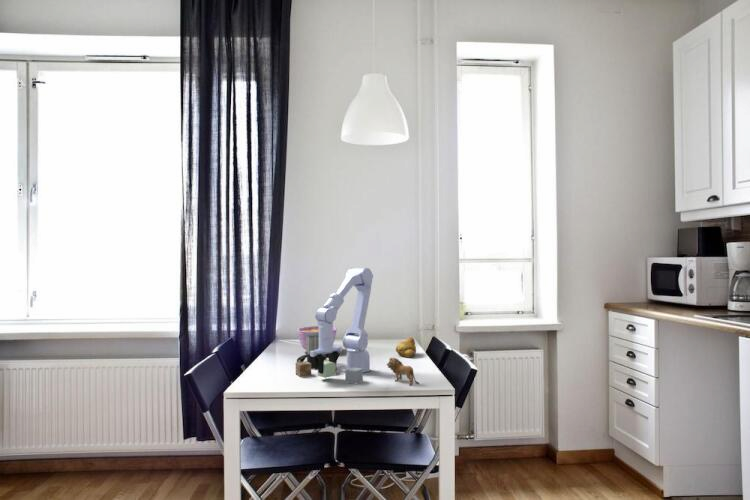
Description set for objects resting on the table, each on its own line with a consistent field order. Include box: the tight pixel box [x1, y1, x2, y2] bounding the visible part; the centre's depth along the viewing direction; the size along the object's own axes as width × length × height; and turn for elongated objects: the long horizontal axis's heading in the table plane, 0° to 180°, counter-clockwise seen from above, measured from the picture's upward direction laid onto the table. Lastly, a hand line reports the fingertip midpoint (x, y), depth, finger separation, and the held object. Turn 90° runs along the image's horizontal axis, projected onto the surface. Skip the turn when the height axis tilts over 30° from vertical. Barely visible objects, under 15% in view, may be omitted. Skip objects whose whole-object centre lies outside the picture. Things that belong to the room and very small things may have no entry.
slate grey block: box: [344, 367, 364, 384], centre depth 204 cm, size 5×5×5 cm
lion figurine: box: [386, 357, 420, 386], centre depth 203 cm, size 15×5×9 cm, turn 50°
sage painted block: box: [317, 361, 336, 379], centre depth 208 cm, size 5×5×5 cm
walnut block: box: [295, 360, 312, 378], centre depth 216 cm, size 5×5×5 cm
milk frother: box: [296, 332, 329, 370], centre depth 234 cm, size 14×16×15 cm
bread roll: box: [395, 337, 417, 358], centre depth 253 cm, size 13×10×8 cm
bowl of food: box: [297, 325, 338, 351], centre depth 264 cm, size 20×20×12 cm
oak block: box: [324, 358, 338, 374], centre depth 220 cm, size 5×5×5 cm
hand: (326, 371), depth 208 cm, fingers closed on sage painted block, 5 cm apart
